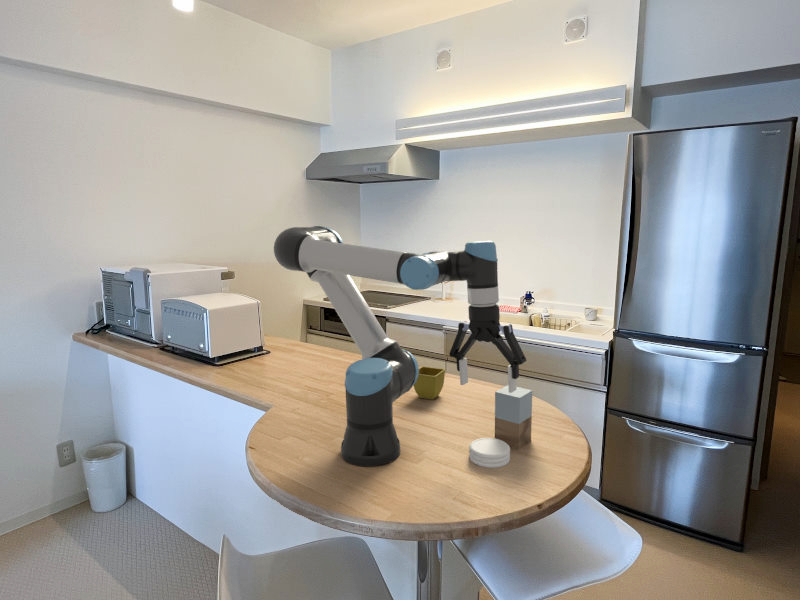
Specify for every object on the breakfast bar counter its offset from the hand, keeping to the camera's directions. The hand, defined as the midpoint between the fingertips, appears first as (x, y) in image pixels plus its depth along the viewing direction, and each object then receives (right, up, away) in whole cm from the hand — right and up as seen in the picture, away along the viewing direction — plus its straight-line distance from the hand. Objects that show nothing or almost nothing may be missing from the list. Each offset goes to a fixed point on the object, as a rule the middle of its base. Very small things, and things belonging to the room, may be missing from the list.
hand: (487, 387), depth 122 cm
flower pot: (-12, -11, +41) cm, 44 cm away
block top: (+8, -9, +6) cm, 13 cm away
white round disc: (0, -18, -2) cm, 18 cm away
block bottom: (+8, -16, +7) cm, 19 cm away
